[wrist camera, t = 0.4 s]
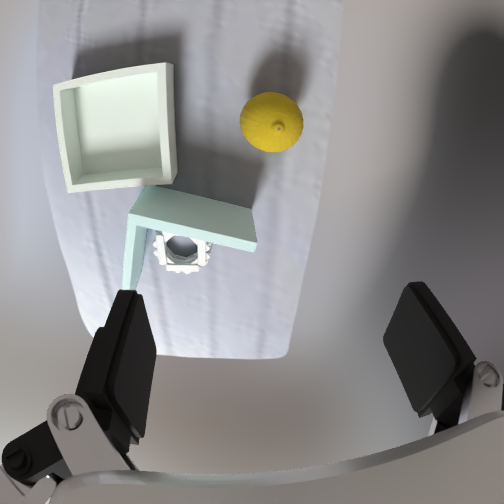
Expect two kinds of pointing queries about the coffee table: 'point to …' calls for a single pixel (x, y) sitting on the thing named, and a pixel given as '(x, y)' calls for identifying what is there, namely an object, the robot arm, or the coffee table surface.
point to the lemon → (271, 122)
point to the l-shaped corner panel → (182, 230)
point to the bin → (117, 128)
